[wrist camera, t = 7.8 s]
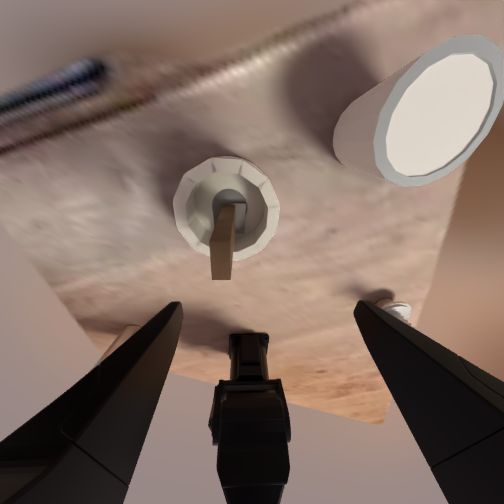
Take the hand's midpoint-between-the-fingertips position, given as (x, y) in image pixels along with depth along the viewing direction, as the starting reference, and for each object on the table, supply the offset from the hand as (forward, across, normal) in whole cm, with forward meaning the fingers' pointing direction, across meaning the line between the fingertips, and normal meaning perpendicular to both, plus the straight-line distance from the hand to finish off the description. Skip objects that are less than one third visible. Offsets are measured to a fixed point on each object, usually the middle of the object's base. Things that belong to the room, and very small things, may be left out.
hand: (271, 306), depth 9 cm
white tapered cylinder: (+12, -9, -9) cm, 18 cm away
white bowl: (+12, +3, -2) cm, 13 cm away
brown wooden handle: (+12, +3, -1) cm, 12 cm away
